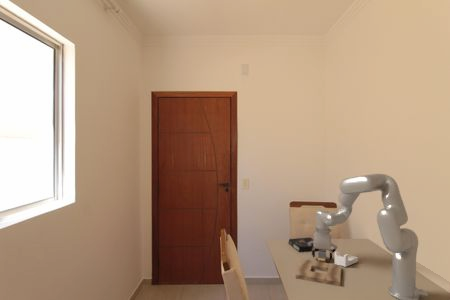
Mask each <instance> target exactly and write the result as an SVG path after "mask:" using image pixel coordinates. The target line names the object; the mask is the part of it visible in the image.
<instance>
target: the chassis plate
mask: <svg viewBox="0 0 450 300" xmlns="http://www.w3.org/2000/svg"><path fill="white" fill-rule="evenodd" d="M312 270H317V271H322V272H326V273H322V272H317V271H312ZM341 275H342V265H336V264H335V263H329V262H325V263H324V262H318V260H317V261H316V260H309V259H304V258H302V259H301V261H300V264H299V266H298V269H297V271H296V273H295V279H300V280H305V281H310V282H315V283H321V284H326V285H332V286H337V287H341V278H342V277H341Z"/></svg>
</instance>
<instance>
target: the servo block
mask: <svg viewBox="0 0 450 300" xmlns="http://www.w3.org/2000/svg"><path fill="white" fill-rule="evenodd" d="M317 254H318V255H317V262H324V263H327V262H326V260H327V250H323V249H322V250H320V249H319V251H317Z"/></svg>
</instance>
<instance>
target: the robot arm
mask: <svg viewBox="0 0 450 300" xmlns="http://www.w3.org/2000/svg"><path fill="white" fill-rule="evenodd" d="M338 188H339V190H340V193H339V194H338V196H337V199H338V201H339V203H340V204H341V205H340V206H339V208H338V209H337V210H335V211H332V212H329V211H328V210H327V209H317V210H316V212H315V231H314V234H313V239H314V240H313V241H310V242H308V246H309V248H310V249H311V250H312V251H311V256H312V257H313V258H315V256H316V255H315V254H316V251H315V249H322V250H326V251H328V252H329V261H332V259H333V253H335V252H336V251H337V249H338V246H337V244H334V243H333V242H332V235H331V232H332V229H330V227H335V226H338V225H341V224H344V223H345V222H347V220H348V219H349V218H350V216H351V214H352V212H353V204H354V203H355V202H356V200H357V199H358V197H359V196H360V195H361V194H364V193H371V192H372V193H373V192H377V191H380V192H381V201H382V204H383V208H381V209H380V210H378V212H377V214H376V221H377V222H376V223H377V227H378V229H379V232H380V236H381V240H382V243H383V245H384V246H385V248H386V249H387V250H388V251H390V252H391V253H392V259H391V260H392V265H391V266H392V269H391V271H392V272H391V275H392V276H391V280H392V281H391V286H389V287H388V290H387V291H388V294H389V295H391V296H392V297H394V298H395V299H397V300H420V296H423V297H429V296H428V295H429V293H428V291H426V290H425V291H424V289H423V288H418V287H417V284H416V283H417V281H416V280H417V255H418V247H419V238H418V235H417V234H416V232H414V230H412V229H410V228H407V227H405V228H403V227H402V226H403V225H405V224H407V223H408V220H409V217H408V216H409V215H408V213H407V211H406V206H405V204H404V200H403V198H402V195H401V192H400V188H399V185H398V183H397V181H396V180H395V179H394V178H393V177H392V176H390V175H389V174H385V173H384V174H383V173H372V174H371V173H370V174H365V175H360V176H359V175H358V176H353V177H346V178H343V179H342V180H341V181H340V182H339V187H338ZM312 243H313V246H314V247H312V246H311V244H312ZM332 247H333V249H332Z"/></svg>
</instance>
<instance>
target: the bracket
mask: <svg viewBox="0 0 450 300" xmlns="http://www.w3.org/2000/svg"><path fill="white" fill-rule="evenodd" d="M339 252H340V251H338V250H335V252H334V264H336V265H341V267H345V268H346V267H349V266H351V265H353V264H356V263H358V262H359V257H358V256H355V255H353V254H350V253H346V254H343V255H341V254H340V253H339Z"/></svg>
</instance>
